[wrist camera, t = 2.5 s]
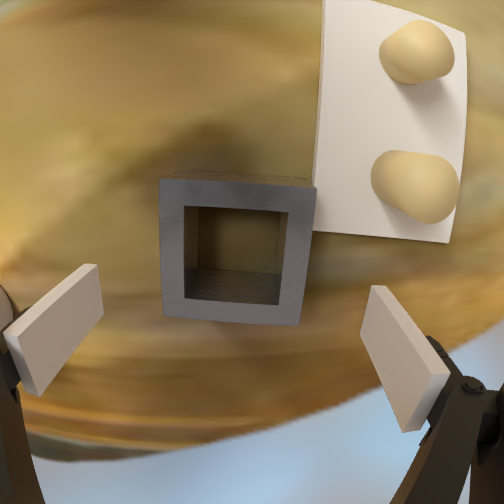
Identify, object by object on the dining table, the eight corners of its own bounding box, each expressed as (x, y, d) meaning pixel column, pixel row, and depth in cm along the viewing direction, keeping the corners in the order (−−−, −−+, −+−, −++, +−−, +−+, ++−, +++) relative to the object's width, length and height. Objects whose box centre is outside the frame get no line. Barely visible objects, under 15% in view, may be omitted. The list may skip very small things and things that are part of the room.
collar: (179, 170, 22) (159, 179, 18) (304, 178, 22) (317, 188, 18) (179, 284, 25) (163, 316, 21) (291, 292, 25) (298, 326, 21)
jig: (322, -3, 17) (343, -45, 11) (457, 36, 18) (504, 18, 11) (306, 225, 24) (324, 258, 17) (441, 238, 24) (486, 268, 17)
